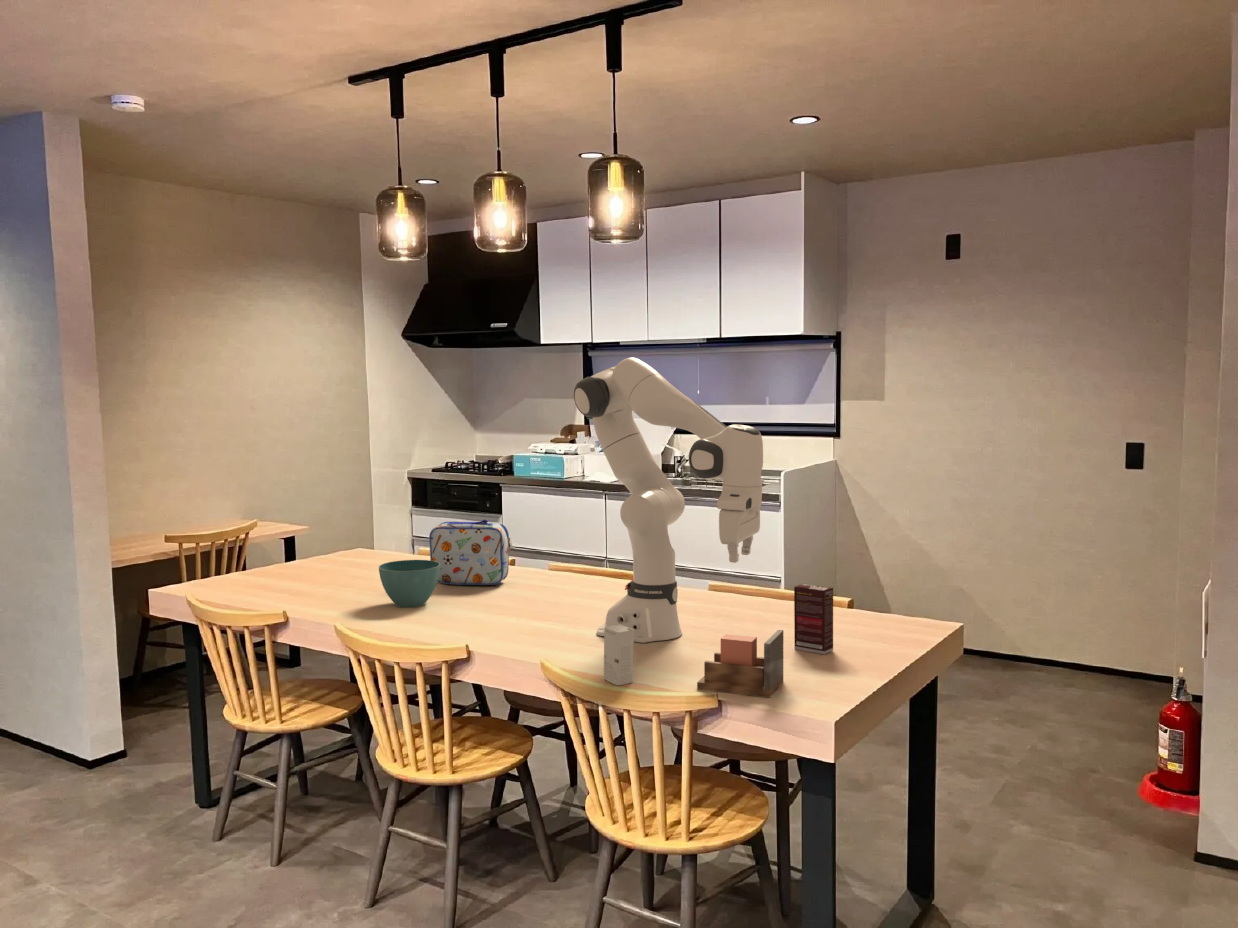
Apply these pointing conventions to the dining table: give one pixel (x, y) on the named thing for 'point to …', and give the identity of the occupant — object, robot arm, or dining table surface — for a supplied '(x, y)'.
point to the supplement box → (813, 618)
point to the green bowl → (409, 581)
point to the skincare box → (618, 654)
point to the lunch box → (470, 552)
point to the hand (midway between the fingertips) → (739, 558)
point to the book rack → (747, 672)
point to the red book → (739, 650)
